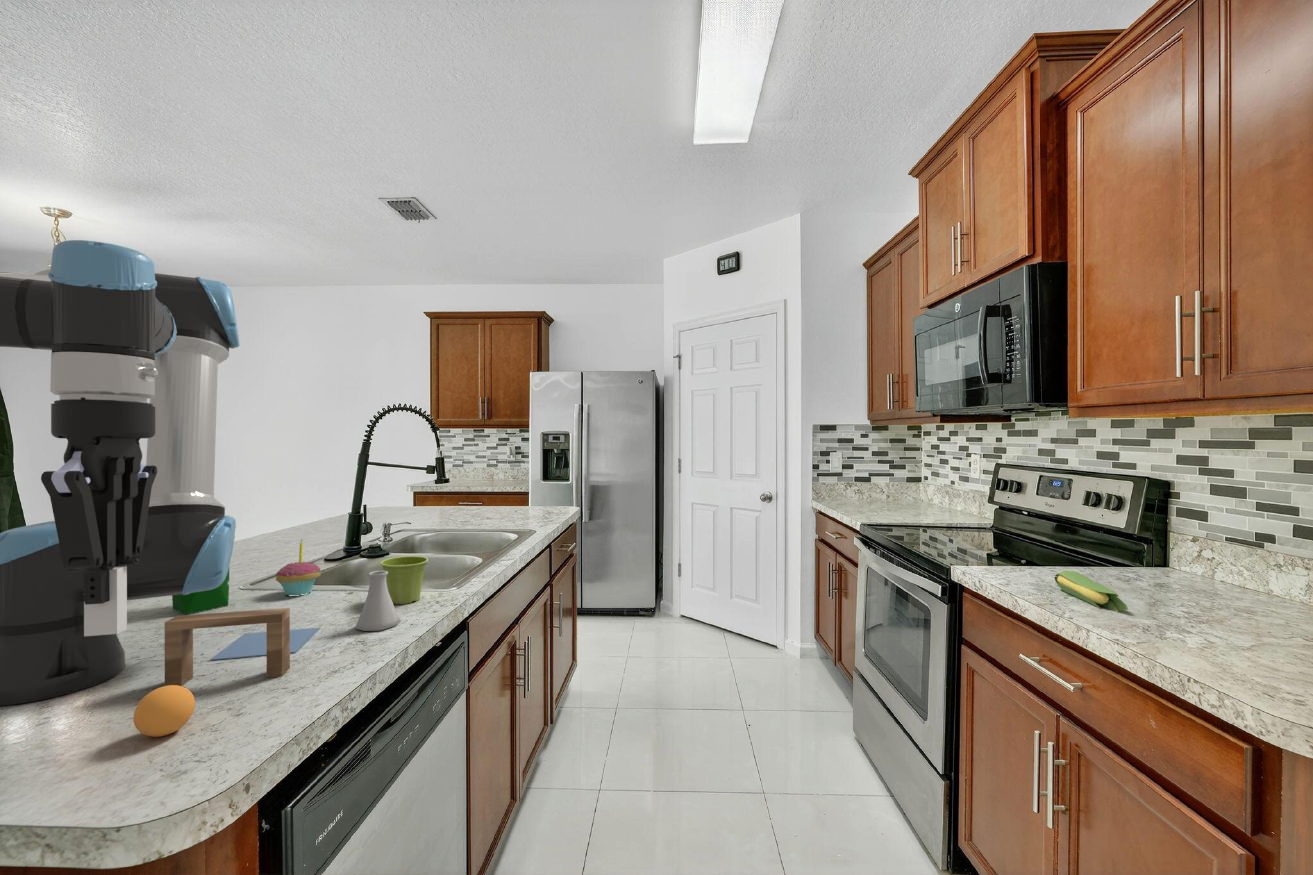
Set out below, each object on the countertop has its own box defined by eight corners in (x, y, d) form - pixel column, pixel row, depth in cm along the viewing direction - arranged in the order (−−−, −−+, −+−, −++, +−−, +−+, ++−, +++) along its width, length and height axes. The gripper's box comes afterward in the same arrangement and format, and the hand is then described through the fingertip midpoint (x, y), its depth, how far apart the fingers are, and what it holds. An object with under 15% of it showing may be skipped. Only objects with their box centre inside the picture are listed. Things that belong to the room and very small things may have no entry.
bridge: (282, 676, 82) (282, 613, 82) (164, 687, 78) (164, 622, 78) (289, 667, 85) (289, 607, 85) (176, 678, 81) (176, 615, 81)
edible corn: (1075, 570, 129) (1054, 564, 130) (1135, 597, 109) (1110, 590, 110) (1068, 591, 129) (1047, 584, 130) (1126, 622, 110) (1101, 614, 110)
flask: (382, 633, 100) (381, 578, 100) (346, 631, 101) (346, 576, 101) (407, 620, 107) (407, 568, 107) (374, 618, 108) (374, 567, 108)
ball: (121, 749, 63) (121, 700, 63) (151, 725, 68) (151, 680, 68) (179, 742, 64) (179, 694, 64) (204, 719, 70) (204, 675, 70)
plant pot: (428, 592, 126) (428, 554, 126) (427, 604, 117) (427, 563, 117) (382, 597, 123) (382, 557, 123) (378, 609, 114) (378, 567, 114)
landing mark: (209, 660, 88) (209, 659, 88) (244, 634, 99) (244, 633, 99) (296, 652, 91) (296, 651, 91) (319, 628, 103) (319, 627, 103)
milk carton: (165, 609, 114) (165, 512, 114) (218, 598, 122) (218, 507, 122) (182, 617, 109) (182, 515, 109) (236, 605, 117) (236, 510, 117)
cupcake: (283, 590, 128) (283, 538, 128) (325, 587, 131) (325, 536, 131) (270, 600, 120) (270, 545, 120) (315, 597, 123) (314, 543, 123)
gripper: (106, 395, 51) (106, 652, 51) (185, 404, 64) (185, 610, 64) (2, 394, 49) (2, 661, 49) (105, 403, 62) (105, 616, 62)
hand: (105, 632), depth 56 cm, fingers closed
